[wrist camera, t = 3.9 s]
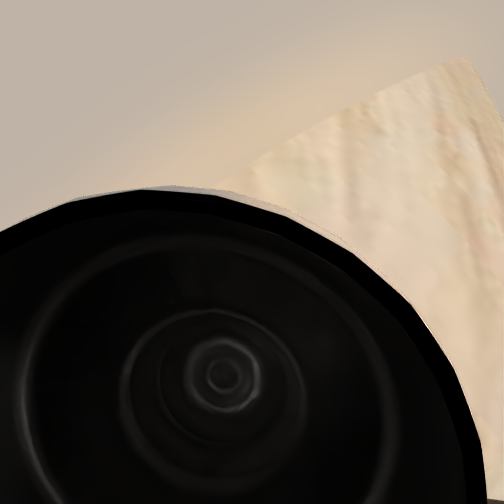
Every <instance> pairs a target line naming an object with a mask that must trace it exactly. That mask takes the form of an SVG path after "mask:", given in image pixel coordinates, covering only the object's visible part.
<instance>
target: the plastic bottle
mask: <svg viewBox="0 0 504 504" xmlns="http://www.w3.org/2000/svg"><path fill="white" fill-rule="evenodd" d="M0 504H487V491H486V480H485V471H484V462H483V455H482V448H481V442H480V438H479V435H478V432H477V428H476V425H475V422H474V419H473V416H472V413H471V410H470V407H469V404H468V402H467V399H466V396H465V394H464V391H463V389H462V386H461V384H460V381H459V379H458V376H457V374H456V371H455V369H454V367H453V364H452V362H451V360H450V358H449V355H448V354H447V352H446V351H445V350H444V348H443V347H442V345H441V344H440V343H439V341H438V340H437V338H436V337H435V336H434V334H433V333H432V331H431V330H430V329H429V327H428V326H427V325H426V323H425V322H424V321H423V319H422V318H421V317H420V315H419V314H418V313H417V311H416V310H415V309H414V307H413V306H412V305H411V303H410V302H409V301H408V300H407V299H406V298H405V296H404V295H403V294H402V293H401V292H400V291H399V289H398V288H397V287H396V286H395V285H394V284H393V282H392V281H391V280H390V279H389V278H388V277H387V276H386V275H385V274H384V273H383V272H381V271H380V270H379V269H378V268H377V267H376V266H374V265H373V264H372V263H371V262H370V261H368V260H367V259H366V258H365V257H364V256H363V255H361V254H360V253H359V252H358V251H357V250H355V249H354V248H353V247H352V246H350V245H349V244H348V243H347V242H346V241H344V240H343V239H342V238H340V237H338V236H337V235H335V234H333V233H331V232H329V231H328V230H326V229H324V228H322V227H320V226H318V225H317V224H315V223H313V222H311V221H309V220H307V219H305V218H304V217H302V216H300V215H298V214H296V213H294V212H292V211H290V210H288V209H286V208H283V207H280V206H277V205H273V204H270V203H267V202H264V201H261V200H257V199H254V198H251V197H248V196H244V195H241V194H238V193H234V192H231V191H224V190H215V189H205V188H195V187H184V186H172V185H171V186H160V187H150V188H141V189H132V190H123V191H115V192H109V193H102V194H96V195H90V196H85V197H78V198H75V199H73V200H70V201H68V202H65V203H62V204H60V205H57V206H55V207H52V208H49V209H47V210H44V211H42V212H39V213H37V214H35V215H32V216H30V217H27V218H26V219H23V220H22V221H19V222H18V223H16V224H14V225H12V226H10V227H8V228H6V229H5V230H2V231H1V232H0Z"/></svg>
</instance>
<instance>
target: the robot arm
mask: <svg viewBox="0 0 504 504" xmlns="http://www.w3.org/2000/svg"><path fill="white" fill-rule="evenodd" d="M487 504H504V501H501V500H493V499H487Z"/></svg>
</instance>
